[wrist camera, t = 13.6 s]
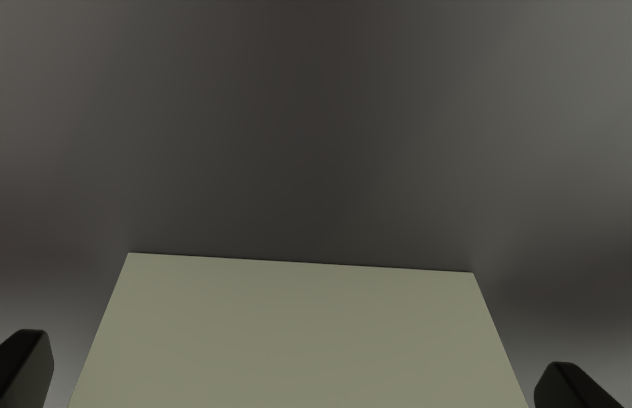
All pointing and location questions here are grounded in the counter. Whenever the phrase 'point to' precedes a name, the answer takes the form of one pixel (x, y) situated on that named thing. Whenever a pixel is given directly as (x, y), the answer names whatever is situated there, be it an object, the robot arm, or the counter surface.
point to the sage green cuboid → (293, 338)
